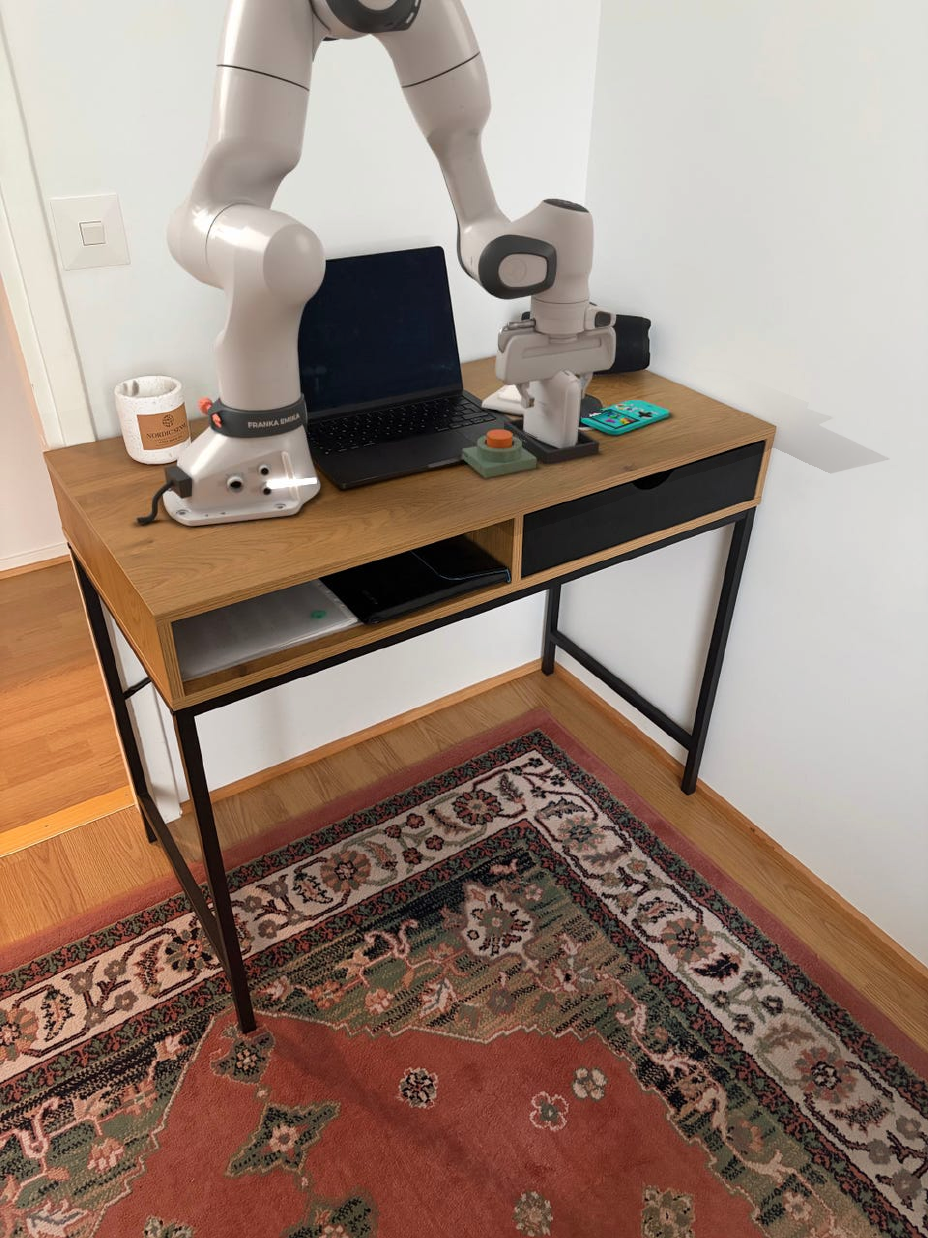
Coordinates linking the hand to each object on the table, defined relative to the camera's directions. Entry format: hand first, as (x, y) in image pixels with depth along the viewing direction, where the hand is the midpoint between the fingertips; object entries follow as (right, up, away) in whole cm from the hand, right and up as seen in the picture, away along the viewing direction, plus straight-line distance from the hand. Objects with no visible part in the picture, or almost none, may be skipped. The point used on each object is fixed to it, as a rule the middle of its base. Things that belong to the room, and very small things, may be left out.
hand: (552, 402), depth 146 cm
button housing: (-9, -10, -3) cm, 14 cm away
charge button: (-9, -8, -5) cm, 13 cm away
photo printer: (0, -5, +4) cm, 7 cm away
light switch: (-4, +4, +19) cm, 19 cm away
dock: (0, -6, +4) cm, 7 cm away
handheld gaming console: (+14, 0, +13) cm, 19 cm away
